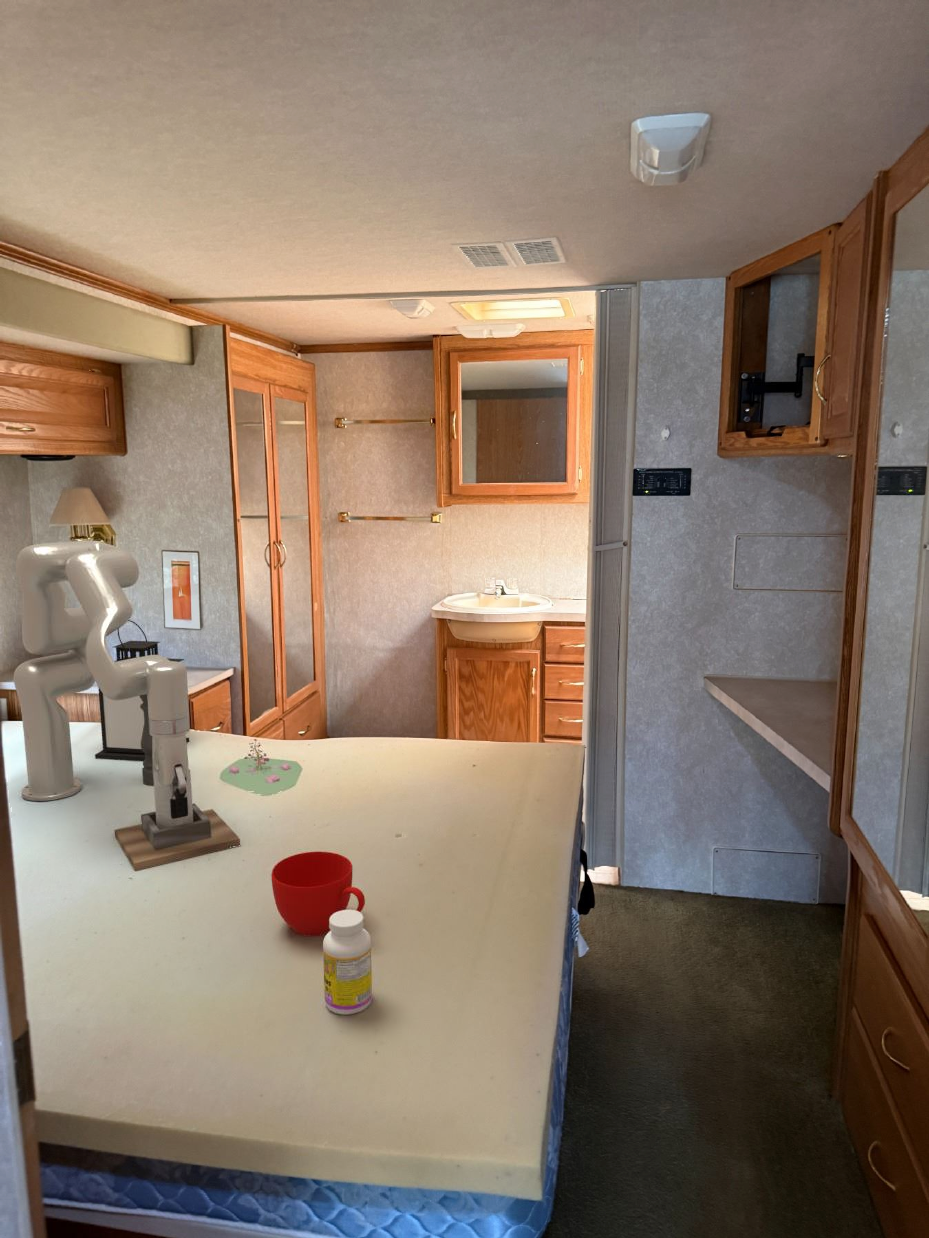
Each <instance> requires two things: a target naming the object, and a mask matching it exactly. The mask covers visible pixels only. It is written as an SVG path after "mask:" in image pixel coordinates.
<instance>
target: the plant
mask: <svg viewBox="0 0 929 1238" xmlns="http://www.w3.org/2000/svg"><path fill="white" fill-rule="evenodd" d="M253 740H254V742H257V741H258V739H253ZM254 742H251V743H249V744H248V745H250V748H251V750H250V751H249V752H252V754H251V753H248V754H247V755H248V756H245V757H243V758H239V759H237V760H236V761H234V762H232V763H231V764H229V765H228V766H226V768H224V769H223V770H221V772H220V774H219V779H220V781H222V782H224V783H226V784H228V785H231V786H233V787H235V788H238V789H240V790H243V791H246V792H248V791H254V792H250V793H252V794H254V795H257V794H261V795H259V796H260V797H266V796H267V797H268V796H273V795H277V794H279V793H278V792H280V791H282V792H284V791H287V790H289V789H292V788H294V787H296V785H297V782H298V781H299V778H300V776H301V774H302V772H303V767H302V765H301V764H300V763H299V762H298V761H297V760H287V759H278V758H269V757H267V753H265V752H263V750H260V749H259V748H260V747H261V746H262V745H261V743H260V742H258V745H256V744H254ZM257 748H258V750H257ZM280 793H281V792H280ZM272 794H273V795H272Z"/></svg>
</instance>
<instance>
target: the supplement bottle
mask: <svg viewBox="0 0 929 1238" xmlns="http://www.w3.org/2000/svg"><path fill="white" fill-rule="evenodd" d="M364 920H365V919H364V915H363V913H361V912H359V911H356V909H346V910H342V911H338V912H336V913H334V914H333V915H331V917H330V919H329V928H330V931H329V932H327V934H326V935H325V936H324V938H323V942H322V953H323V954H322V956H323V986H324V987H323V990H324V1003H325V1006H326V1007H327V1009H328V1010H329V1011H331V1012H333V1013H335V1014H337V1015H344V1016H345V1015H346V1016H347V1015H353V1014H357V1013H360V1012H362V1011H364V1010H366V1008H368V1007H369V1005H371V1003H372V999H373V974H372V973H373V971H372V968H373V967H372V966H373V965H372V938H371V934H370V933H369V932H368V930H366V929H365V928H364V924H365V922H364Z"/></svg>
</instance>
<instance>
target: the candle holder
mask: <svg viewBox="0 0 929 1238" xmlns="http://www.w3.org/2000/svg"><path fill="white" fill-rule="evenodd" d="M140 698H141V699H142V701H143V703H142V704H141V705H140V708H141V709H142V710H143V711H144V727H143V733H142V738H141V749H142V751H143V752H144V753H145V756H146V758H145V761H143V762H142V765H143V767H142V769H141V772H142V784H143V785H144V786H148V787H151V786H152V787H154V779H153V760H152V738H153V736H151V735H150V731H149V715H148V699H147V694H145V695H140Z"/></svg>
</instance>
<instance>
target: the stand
mask: <svg viewBox="0 0 929 1238" xmlns="http://www.w3.org/2000/svg"><path fill="white" fill-rule="evenodd" d="M192 807H193V822H192V823H187V824H183V825H178V826H173V827H169V828H164V829H160V830H159V829H158V828H157V826H156V810H155V811H151V812H146V813H142V814H140V820H141V823H140V824H134V825H130V826H125V827H121V828H115V829H114V838H115V839H116V841H117V843H118V845H119V844H120V845H119V847H120V848H121V849H122V851H123V853H124V855H125V857H126V858H127V860H128V862H129V864H130V865H131V866H132V868H133V870H134V871H141V870H145V869H149V868H154V867H158V866H162V865H165V864H169V863H173V862H178V861H183V860H185V859H190V858H195V857H199V856H203V855H207V854H212V853H215V852H220V851H224V850H228V849H227V848H229V849H231V848H230V847H233V846H237V847H240V846H241V838H240V837H239V836H238V835H237V833H235V832H234V831H233V830H232V828H231V827H230V826H229V825H228V824H227V823H226V822H225V820H223V818H221V816H219V814H218V813H216V811H215V810H214V809H213V808H211V809H207V810H202V809H200V807H199V806H198V805H197V804H196V803H195V802H194V803H192ZM239 845H240V846H239ZM233 848H234V847H233ZM223 849H224V850H223Z"/></svg>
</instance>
